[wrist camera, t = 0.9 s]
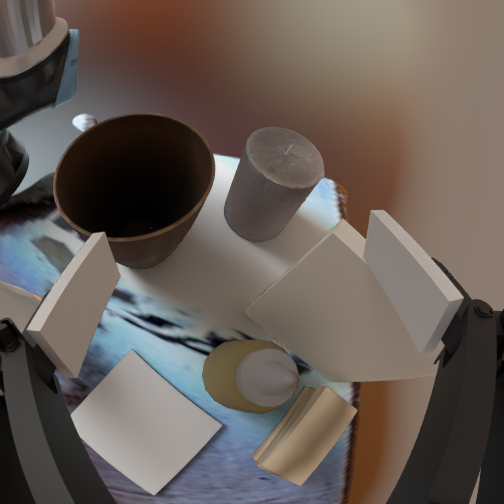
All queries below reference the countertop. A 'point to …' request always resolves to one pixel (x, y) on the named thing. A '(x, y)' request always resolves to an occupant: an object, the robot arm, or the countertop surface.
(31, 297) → the pepper shaker
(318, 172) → the pillar candle
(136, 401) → the grey mat
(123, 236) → the plant pot
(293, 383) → the squeeze bottle
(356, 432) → the countertop surface
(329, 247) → the panel
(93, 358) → the countertop surface
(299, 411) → the offcut stack
